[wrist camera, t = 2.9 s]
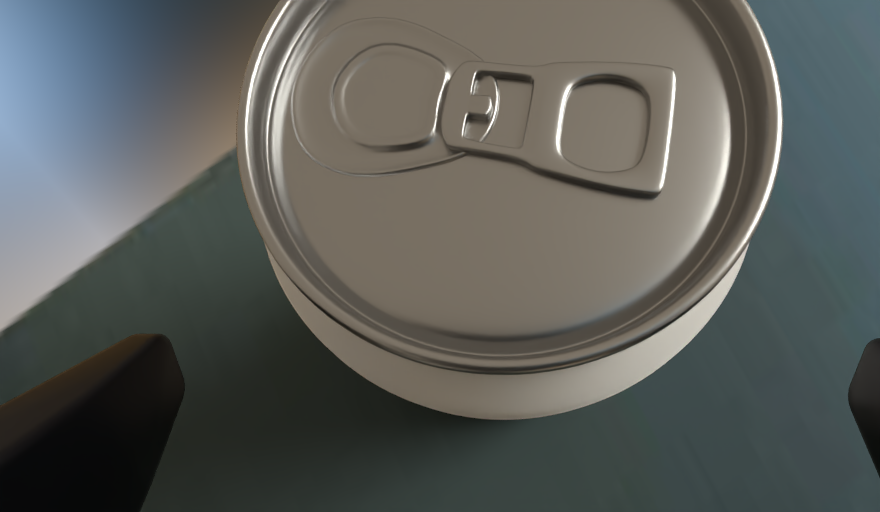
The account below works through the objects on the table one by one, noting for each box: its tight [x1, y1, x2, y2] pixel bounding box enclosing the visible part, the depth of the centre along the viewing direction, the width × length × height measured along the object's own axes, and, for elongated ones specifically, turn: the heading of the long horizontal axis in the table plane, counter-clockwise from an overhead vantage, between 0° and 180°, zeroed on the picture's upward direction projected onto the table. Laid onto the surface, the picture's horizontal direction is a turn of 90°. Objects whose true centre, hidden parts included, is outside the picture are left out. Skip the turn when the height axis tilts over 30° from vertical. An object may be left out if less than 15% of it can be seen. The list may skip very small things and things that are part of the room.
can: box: [236, 0, 783, 420], centre depth 12 cm, size 6×6×12 cm
